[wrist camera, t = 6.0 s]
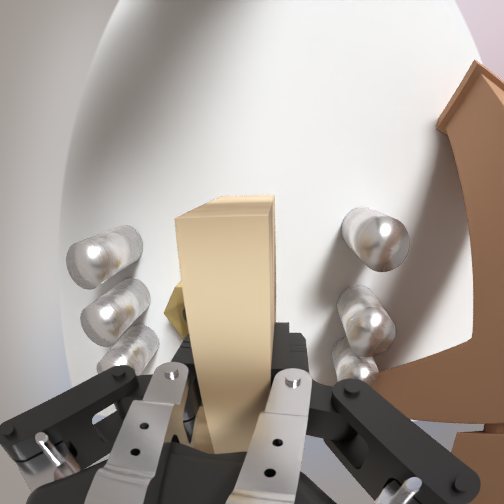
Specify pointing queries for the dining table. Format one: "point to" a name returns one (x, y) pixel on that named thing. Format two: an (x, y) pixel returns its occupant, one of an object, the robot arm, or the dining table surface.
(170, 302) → the nut
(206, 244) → the wooden l-bracket
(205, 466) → the robot arm
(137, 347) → the spacers
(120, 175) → the dining table surface
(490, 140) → the tan tall stepped post
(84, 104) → the dining table surface
